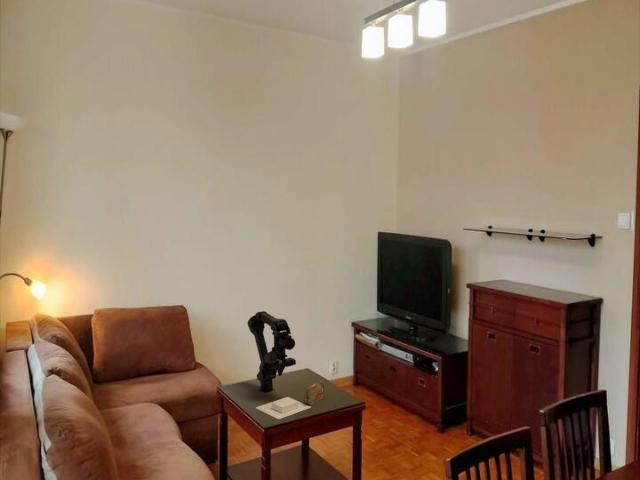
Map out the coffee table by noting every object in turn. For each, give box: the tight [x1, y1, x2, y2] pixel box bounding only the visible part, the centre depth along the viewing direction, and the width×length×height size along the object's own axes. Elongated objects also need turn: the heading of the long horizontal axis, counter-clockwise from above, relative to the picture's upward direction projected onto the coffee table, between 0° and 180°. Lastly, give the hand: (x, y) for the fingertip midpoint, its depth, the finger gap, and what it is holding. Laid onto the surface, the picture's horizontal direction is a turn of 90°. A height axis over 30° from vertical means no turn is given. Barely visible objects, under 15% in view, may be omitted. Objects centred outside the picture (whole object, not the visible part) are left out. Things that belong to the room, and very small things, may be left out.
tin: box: [304, 382, 325, 406], centre depth 263 cm, size 15×3×8 cm, turn 148°
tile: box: [271, 396, 300, 413], centre depth 254 cm, size 3×10×8 cm
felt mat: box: [255, 396, 312, 420], centre depth 255 cm, size 18×20×1 cm
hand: (279, 375), depth 265 cm, fingers closed
